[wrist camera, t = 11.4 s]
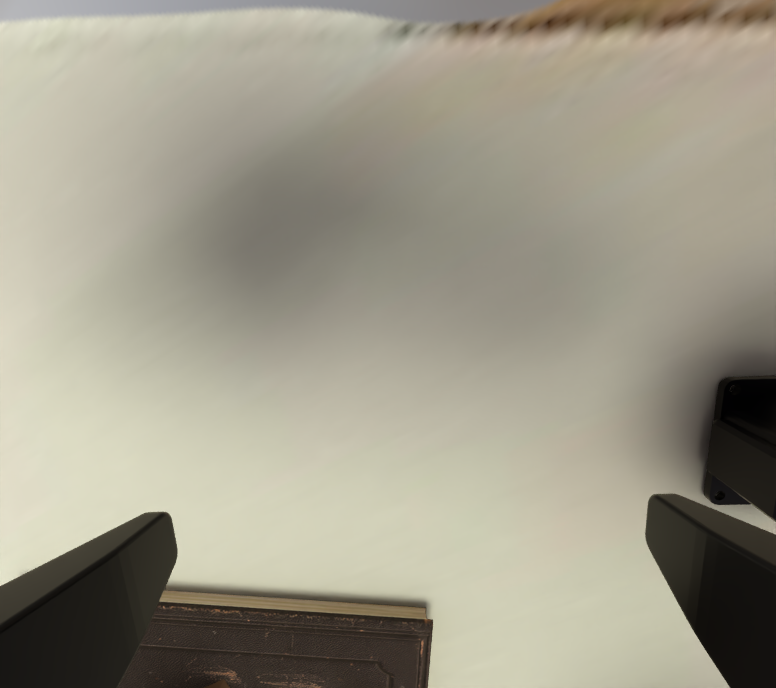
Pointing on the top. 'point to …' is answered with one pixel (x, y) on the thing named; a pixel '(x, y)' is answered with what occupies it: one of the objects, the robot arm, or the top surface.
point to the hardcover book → (280, 644)
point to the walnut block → (219, 685)
